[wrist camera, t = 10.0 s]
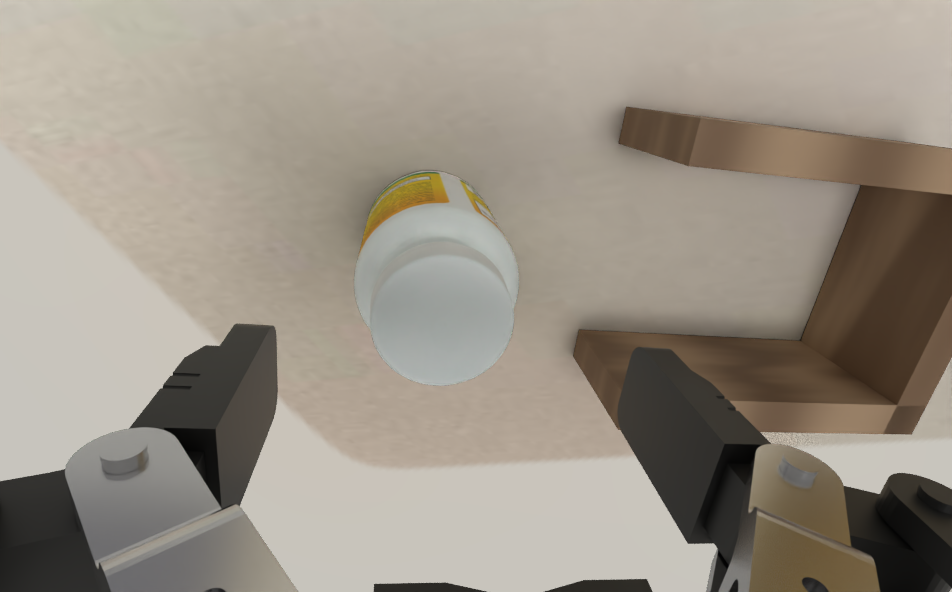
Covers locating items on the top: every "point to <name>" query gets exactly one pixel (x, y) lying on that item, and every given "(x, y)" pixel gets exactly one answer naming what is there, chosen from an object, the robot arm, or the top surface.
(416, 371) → the supplement bottle
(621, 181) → the top surface
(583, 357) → the walnut open box
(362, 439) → the top surface
